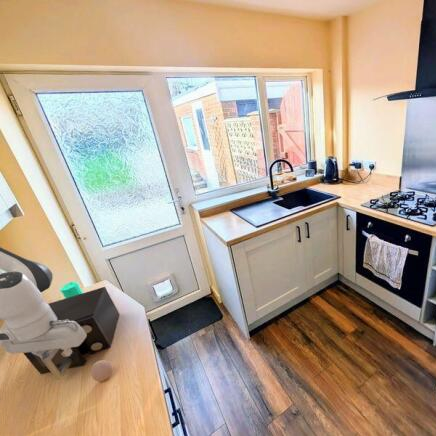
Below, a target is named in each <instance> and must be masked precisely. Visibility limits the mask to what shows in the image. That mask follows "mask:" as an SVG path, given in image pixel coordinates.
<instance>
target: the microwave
mask: <svg viewBox="0 0 436 436" xmlns="http://www.w3.org/2000/svg"><path fill="white" fill-rule="evenodd" d="M47 304H48V305H49V306H50V307H51V309H52V310H53V312H54V314H55V315H56V317H57V321H58V320H69V321H74V322H76V323H78V324H79V325H80V326H81V327H82V329H83V330H84V331H85V333H86V334H87V336H86V338H85V340H84V341H83V342H82V343H81V345H80V346H78V347H77V348H78V349H79V351H80V352H81V353H82V355H83V356H84V355H86V354H90V355H94V354H96V353H99V352H102V351H105V350H108V349H110V348H111V347H112V345H113V341H114V338H115V334H116V331H117V327H118V323H119V319H120V315H121V314H120V312H119V310H118V309H117V307H116V305H115V303H114V301H113V299H112V297H111V295H110V293H109V291H108V290H107V287H105V286H103V287H99V288H96V289H92V290H89V291H86V292H83V293H82V294H79V295H76V296H72V297H69V298H61V299H59V300H56V301H53V302H49V303H47Z"/></svg>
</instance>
